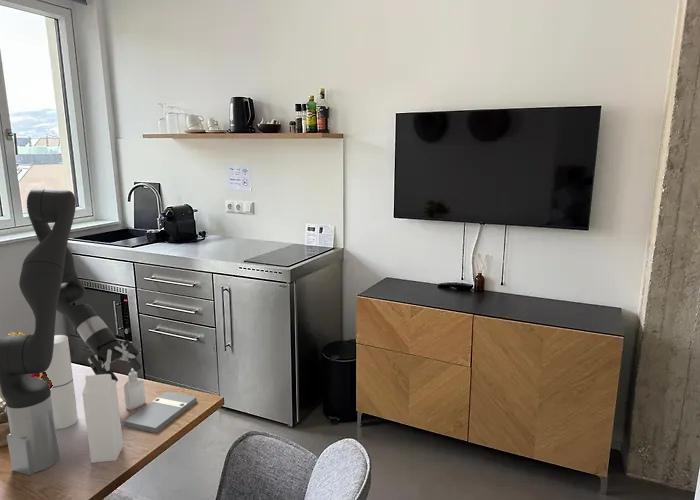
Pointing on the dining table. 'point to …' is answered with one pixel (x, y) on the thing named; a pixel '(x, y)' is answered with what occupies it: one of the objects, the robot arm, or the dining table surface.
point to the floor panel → (160, 412)
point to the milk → (102, 418)
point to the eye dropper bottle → (134, 391)
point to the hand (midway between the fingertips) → (127, 376)
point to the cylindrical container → (62, 384)
